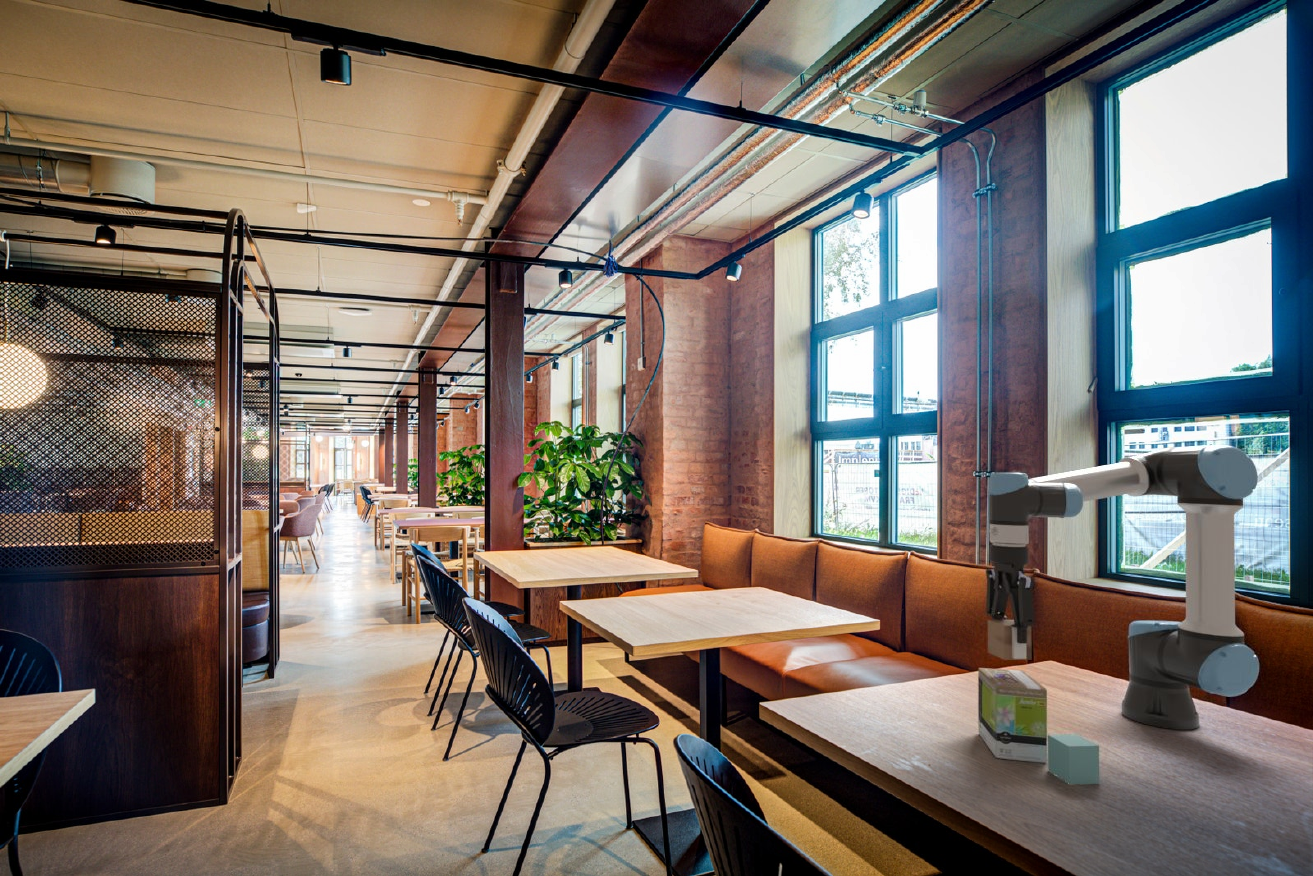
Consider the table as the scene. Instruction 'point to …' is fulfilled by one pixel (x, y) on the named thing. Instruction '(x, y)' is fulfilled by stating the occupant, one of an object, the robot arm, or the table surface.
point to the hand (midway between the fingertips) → (1009, 654)
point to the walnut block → (1005, 639)
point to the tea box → (1012, 714)
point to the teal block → (1073, 759)
